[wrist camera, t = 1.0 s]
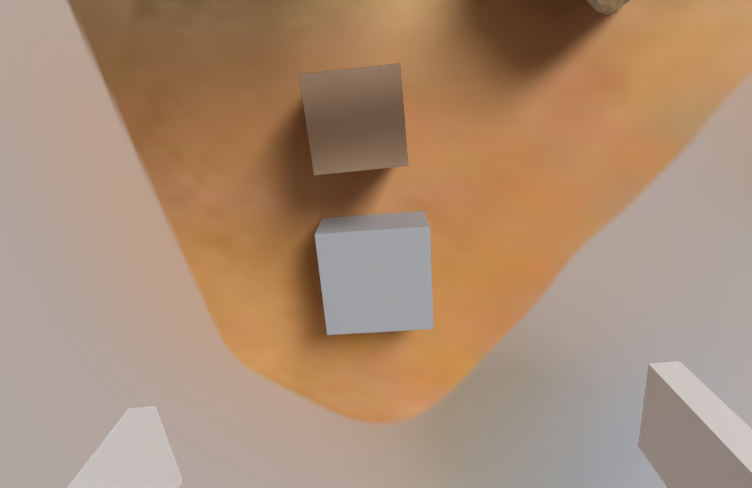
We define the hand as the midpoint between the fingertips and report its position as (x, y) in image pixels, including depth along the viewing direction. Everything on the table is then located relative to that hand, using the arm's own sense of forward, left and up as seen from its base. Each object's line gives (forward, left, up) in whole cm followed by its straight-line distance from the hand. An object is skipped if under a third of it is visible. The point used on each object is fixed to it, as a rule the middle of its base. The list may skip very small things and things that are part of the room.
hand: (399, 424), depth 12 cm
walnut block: (-7, -1, -19) cm, 21 cm away
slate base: (+3, -1, -19) cm, 20 cm away
